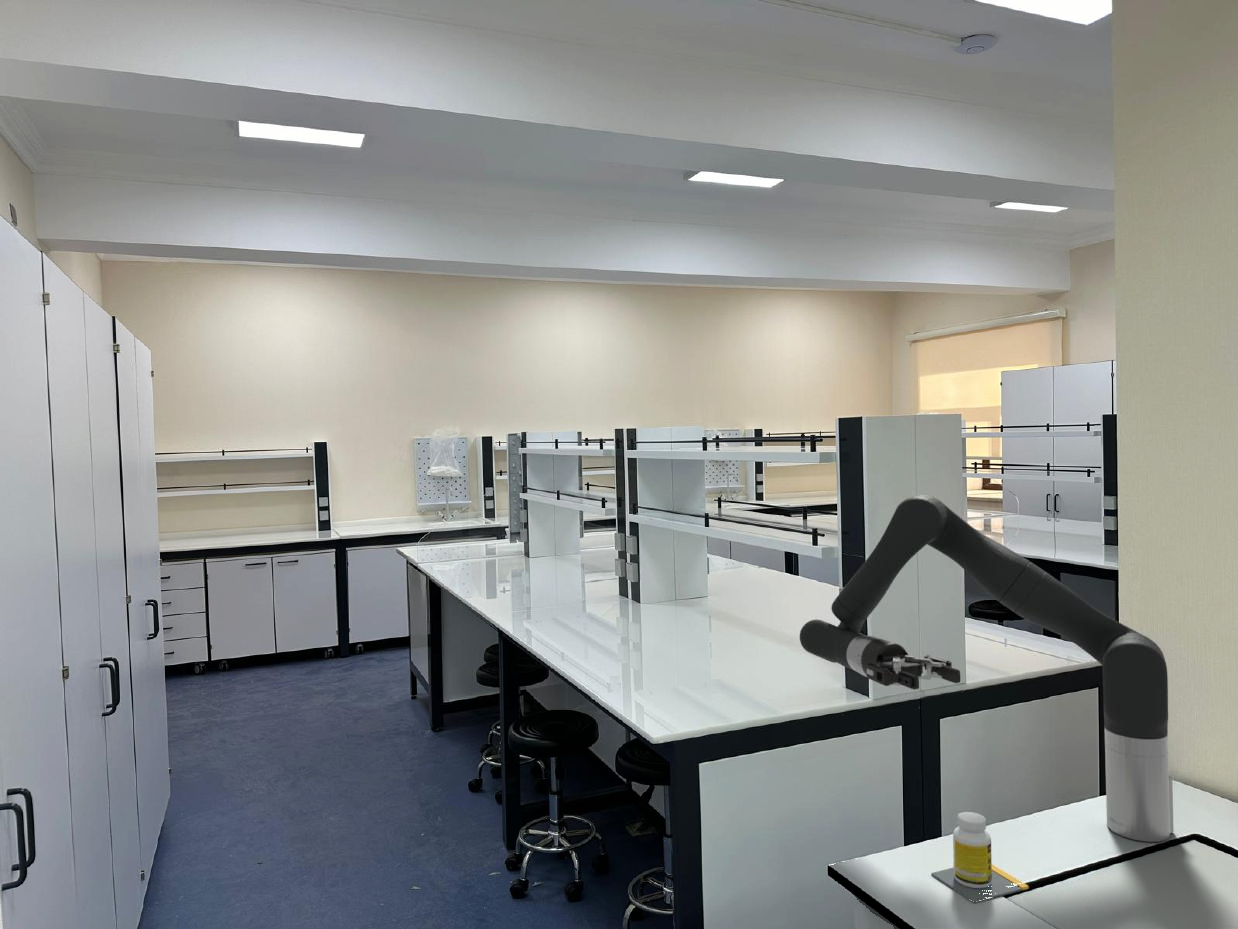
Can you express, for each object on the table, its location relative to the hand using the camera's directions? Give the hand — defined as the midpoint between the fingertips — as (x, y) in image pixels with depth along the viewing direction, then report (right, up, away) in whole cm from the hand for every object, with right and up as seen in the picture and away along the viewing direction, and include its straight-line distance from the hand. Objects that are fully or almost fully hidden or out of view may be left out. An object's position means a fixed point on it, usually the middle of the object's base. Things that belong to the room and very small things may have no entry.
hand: (938, 680), depth 139 cm
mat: (+1, -28, -11) cm, 30 cm away
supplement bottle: (+1, -28, -11) cm, 30 cm away
